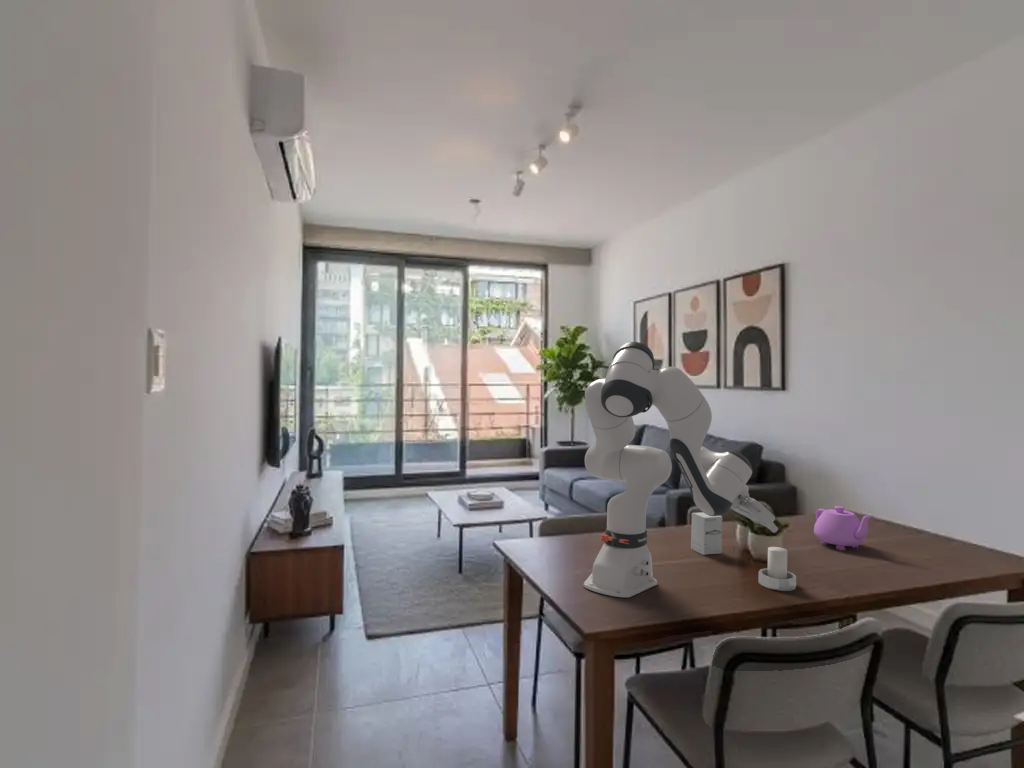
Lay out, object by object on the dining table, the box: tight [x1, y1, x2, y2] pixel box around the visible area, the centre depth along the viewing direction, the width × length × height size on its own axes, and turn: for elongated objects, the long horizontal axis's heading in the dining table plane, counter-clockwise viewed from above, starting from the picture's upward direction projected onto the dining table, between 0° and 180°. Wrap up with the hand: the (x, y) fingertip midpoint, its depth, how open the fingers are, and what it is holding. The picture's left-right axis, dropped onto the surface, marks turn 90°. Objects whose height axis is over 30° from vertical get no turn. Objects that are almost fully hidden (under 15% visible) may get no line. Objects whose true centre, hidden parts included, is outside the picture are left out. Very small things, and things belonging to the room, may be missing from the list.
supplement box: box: [690, 511, 723, 556], centre depth 186 cm, size 7×7×13 cm
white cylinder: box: [767, 546, 788, 579], centre depth 156 cm, size 5×5×10 cm
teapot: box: [813, 505, 873, 551], centre depth 194 cm, size 22×16×14 cm
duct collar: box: [758, 567, 797, 592], centre depth 156 cm, size 9×9×3 cm
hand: (766, 526), depth 156 cm, fingers open, 8 cm apart
